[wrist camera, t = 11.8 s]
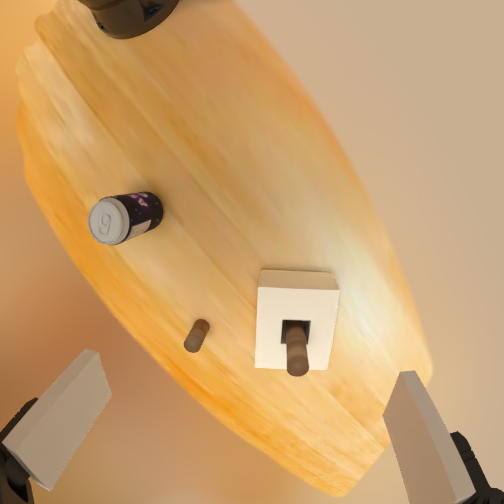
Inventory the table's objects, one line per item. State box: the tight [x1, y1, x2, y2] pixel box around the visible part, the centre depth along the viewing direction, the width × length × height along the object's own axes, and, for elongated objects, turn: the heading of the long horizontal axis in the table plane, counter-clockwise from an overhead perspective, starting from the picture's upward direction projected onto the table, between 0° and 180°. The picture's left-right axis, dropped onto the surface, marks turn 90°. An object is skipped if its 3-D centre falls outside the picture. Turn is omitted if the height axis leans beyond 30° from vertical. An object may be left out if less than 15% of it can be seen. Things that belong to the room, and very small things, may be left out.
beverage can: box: [88, 192, 163, 245], centre depth 35 cm, size 6×6×12 cm
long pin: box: [286, 320, 309, 376], centre depth 36 cm, size 2×2×14 cm
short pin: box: [184, 319, 209, 353], centre depth 42 cm, size 2×2×6 cm
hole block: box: [255, 269, 340, 370], centre depth 39 cm, size 12×10×7 cm
